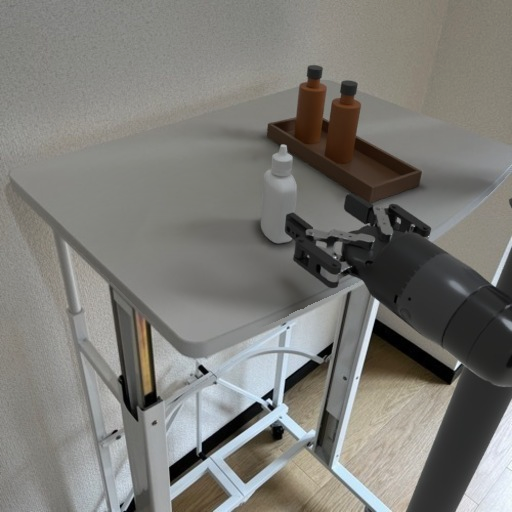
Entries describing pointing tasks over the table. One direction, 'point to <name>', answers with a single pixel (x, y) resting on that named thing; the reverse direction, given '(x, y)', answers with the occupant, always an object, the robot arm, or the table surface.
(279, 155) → the eye dropper bottle
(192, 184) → the table surface
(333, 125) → the amber bottle middle
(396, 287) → the robot arm
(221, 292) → the table surface
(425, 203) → the table surface
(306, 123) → the amber bottle far
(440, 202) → the table surface
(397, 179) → the tray
